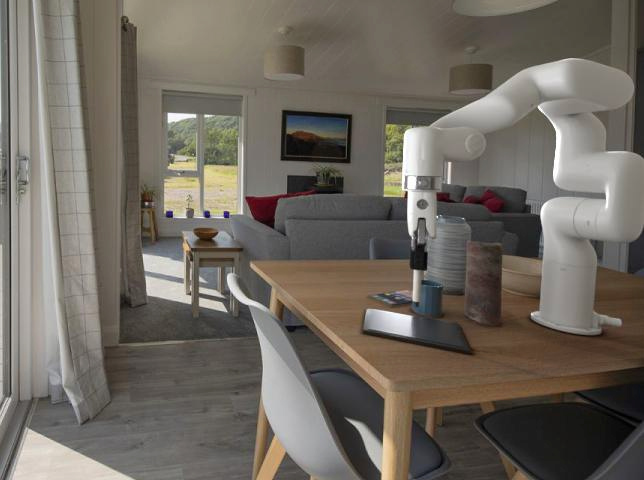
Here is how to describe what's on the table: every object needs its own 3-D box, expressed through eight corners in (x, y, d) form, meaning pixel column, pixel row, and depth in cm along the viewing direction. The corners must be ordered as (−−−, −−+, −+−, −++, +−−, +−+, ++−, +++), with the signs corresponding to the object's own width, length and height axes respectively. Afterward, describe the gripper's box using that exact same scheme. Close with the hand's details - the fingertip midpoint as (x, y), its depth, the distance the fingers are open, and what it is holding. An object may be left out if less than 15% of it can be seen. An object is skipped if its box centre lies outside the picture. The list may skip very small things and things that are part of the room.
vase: (430, 282, 131) (433, 214, 130) (471, 291, 122) (476, 218, 121) (418, 289, 123) (421, 216, 122) (461, 298, 114) (466, 220, 113)
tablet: (457, 326, 93) (458, 323, 93) (470, 354, 79) (470, 350, 79) (366, 311, 102) (366, 307, 102) (363, 333, 88) (363, 329, 88)
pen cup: (439, 311, 103) (441, 281, 103) (442, 319, 97) (444, 288, 97) (411, 306, 106) (412, 277, 106) (412, 314, 100) (414, 284, 100)
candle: (456, 316, 100) (460, 239, 99) (474, 313, 103) (479, 237, 102) (488, 328, 93) (494, 245, 92) (507, 324, 96) (512, 243, 95)
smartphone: (368, 297, 113) (368, 293, 113) (406, 292, 119) (406, 288, 119) (391, 307, 106) (391, 302, 106) (431, 301, 111) (431, 297, 111)
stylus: (419, 305, 86) (422, 243, 86) (420, 308, 85) (423, 244, 84) (412, 304, 87) (414, 242, 86) (412, 306, 86) (415, 243, 85)
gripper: (447, 186, 76) (442, 280, 77) (437, 184, 90) (434, 263, 91) (403, 185, 79) (399, 274, 80) (401, 183, 93) (397, 259, 94)
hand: (418, 268), depth 86 cm, fingers closed on stylus, 1 cm apart
